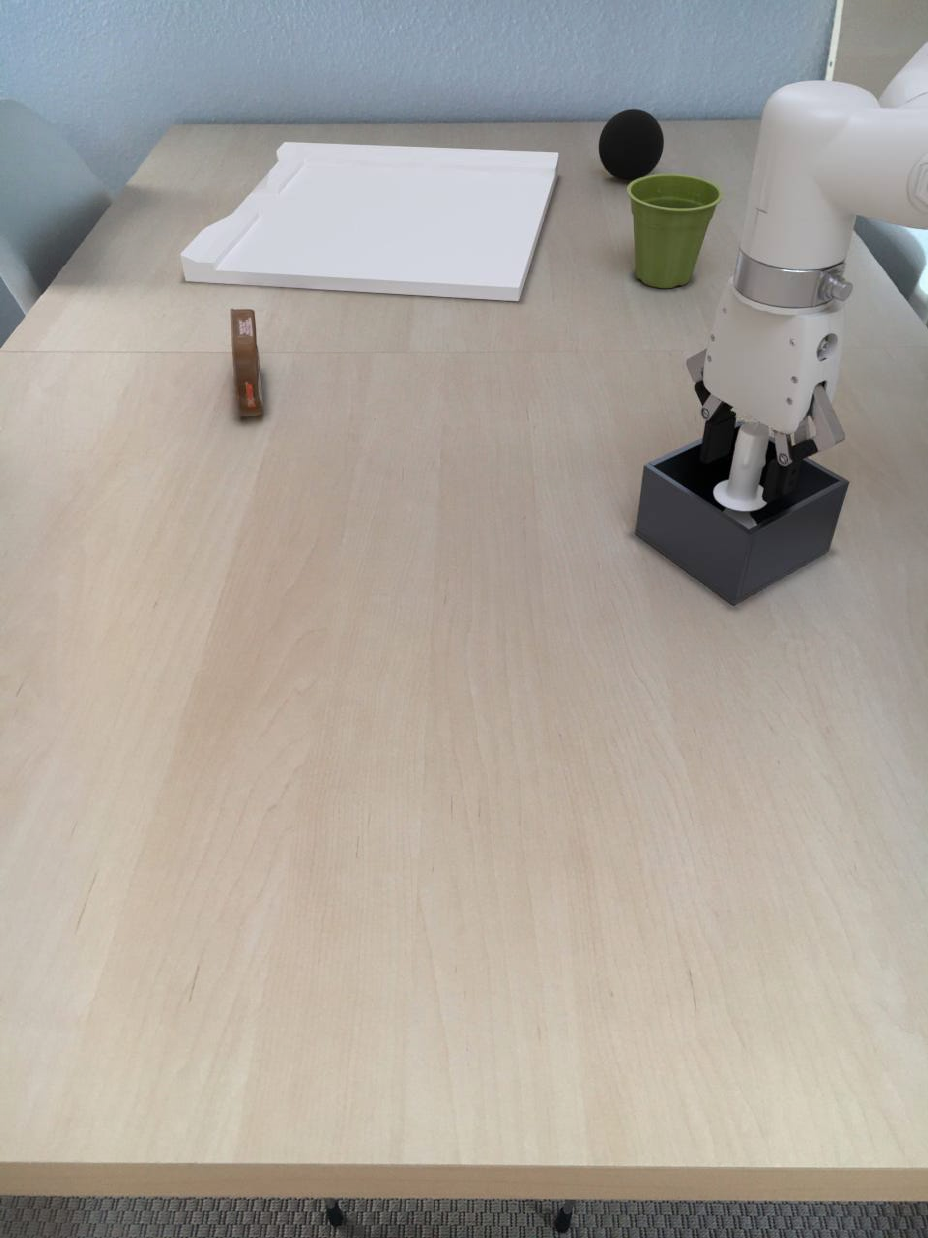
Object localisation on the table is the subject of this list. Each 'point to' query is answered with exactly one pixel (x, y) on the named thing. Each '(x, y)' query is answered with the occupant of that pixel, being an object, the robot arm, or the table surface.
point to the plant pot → (670, 225)
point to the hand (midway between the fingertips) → (744, 474)
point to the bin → (719, 545)
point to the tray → (384, 222)
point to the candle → (745, 474)
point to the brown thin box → (246, 363)
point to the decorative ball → (631, 144)
